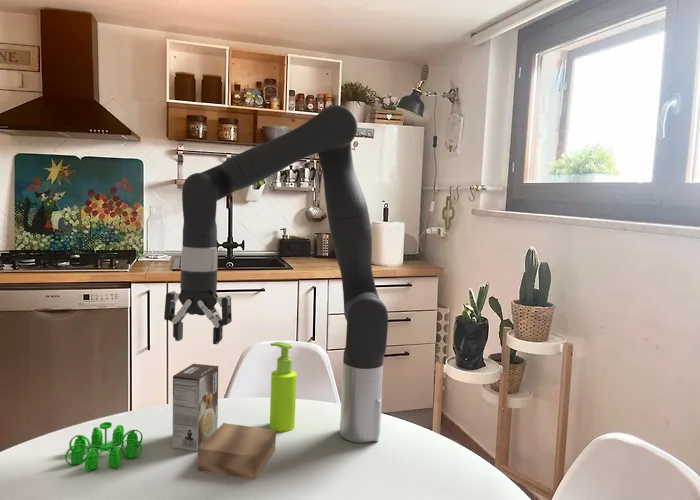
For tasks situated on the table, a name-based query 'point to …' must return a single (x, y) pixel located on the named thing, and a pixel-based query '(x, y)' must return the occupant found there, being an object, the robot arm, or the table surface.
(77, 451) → the chandelier
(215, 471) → the walnut block
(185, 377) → the coffee box
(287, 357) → the soap dispenser
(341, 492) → the table surface
